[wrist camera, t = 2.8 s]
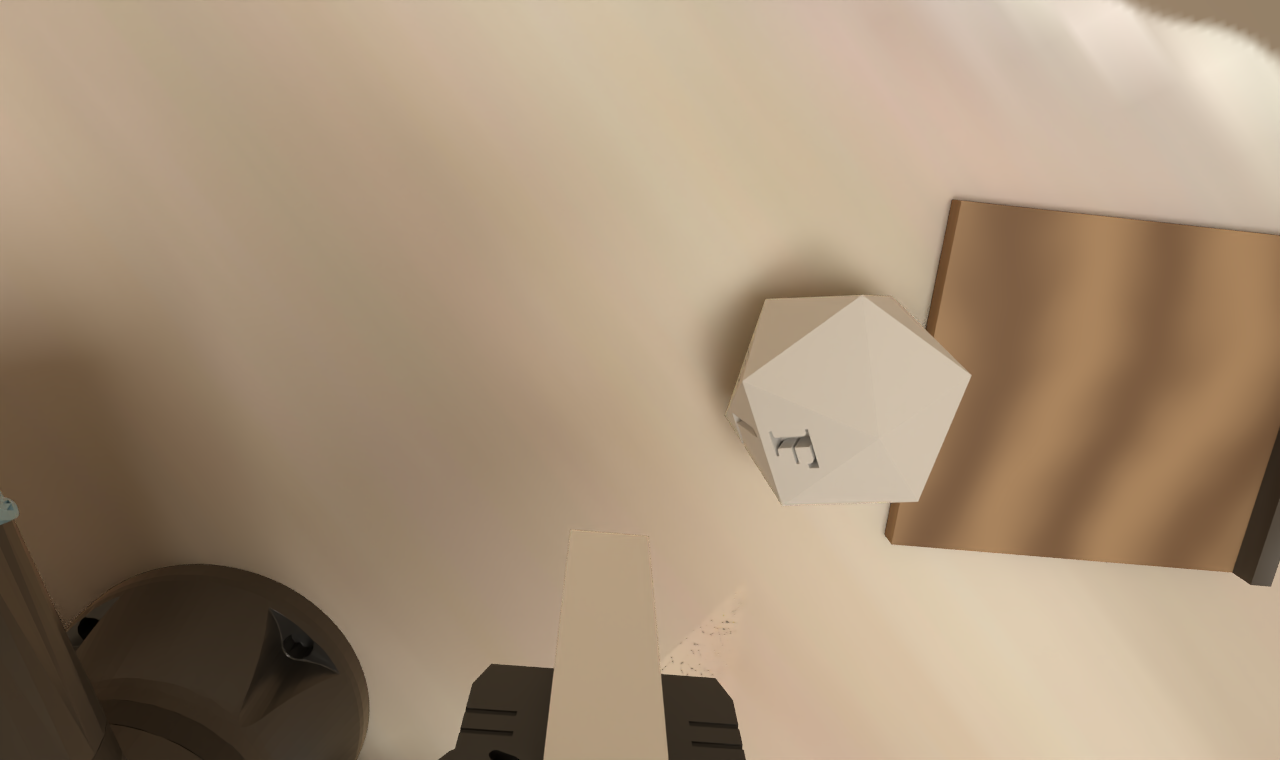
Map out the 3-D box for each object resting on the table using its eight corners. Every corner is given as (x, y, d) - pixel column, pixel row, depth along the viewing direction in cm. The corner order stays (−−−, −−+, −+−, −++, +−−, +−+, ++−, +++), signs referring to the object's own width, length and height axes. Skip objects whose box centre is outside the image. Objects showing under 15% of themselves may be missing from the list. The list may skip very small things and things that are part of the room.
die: (687, 311, 37) (716, 366, 27) (880, 244, 36) (979, 277, 26) (743, 478, 39) (787, 585, 29) (925, 418, 38) (1031, 506, 29)
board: (884, 534, 40) (900, 556, 38) (952, 199, 36) (973, 202, 33) (1236, 564, 41) (1270, 586, 39) (1341, 242, 37) (1386, 247, 35)
